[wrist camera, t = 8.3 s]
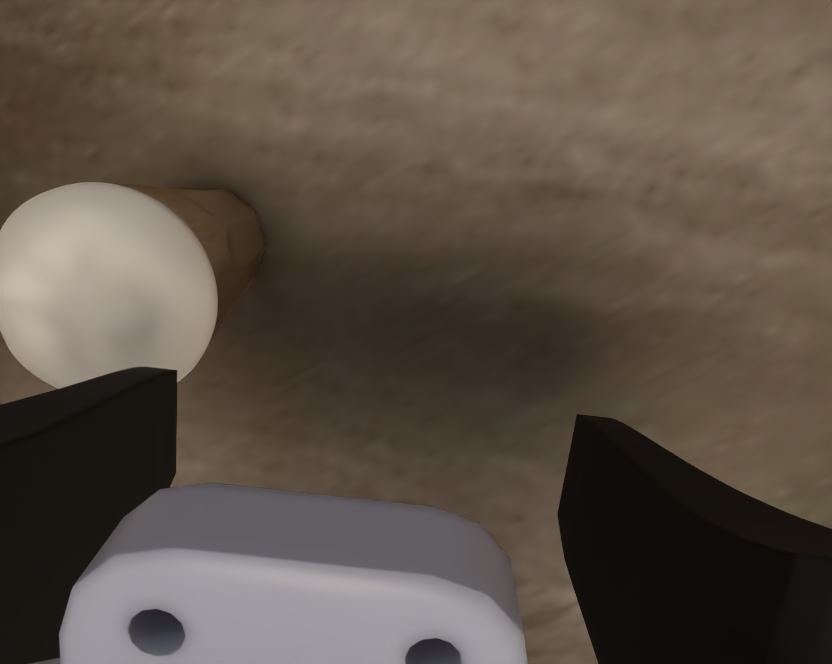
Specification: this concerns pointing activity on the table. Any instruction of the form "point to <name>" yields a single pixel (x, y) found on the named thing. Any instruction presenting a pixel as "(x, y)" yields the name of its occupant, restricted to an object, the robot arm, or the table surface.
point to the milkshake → (122, 277)
